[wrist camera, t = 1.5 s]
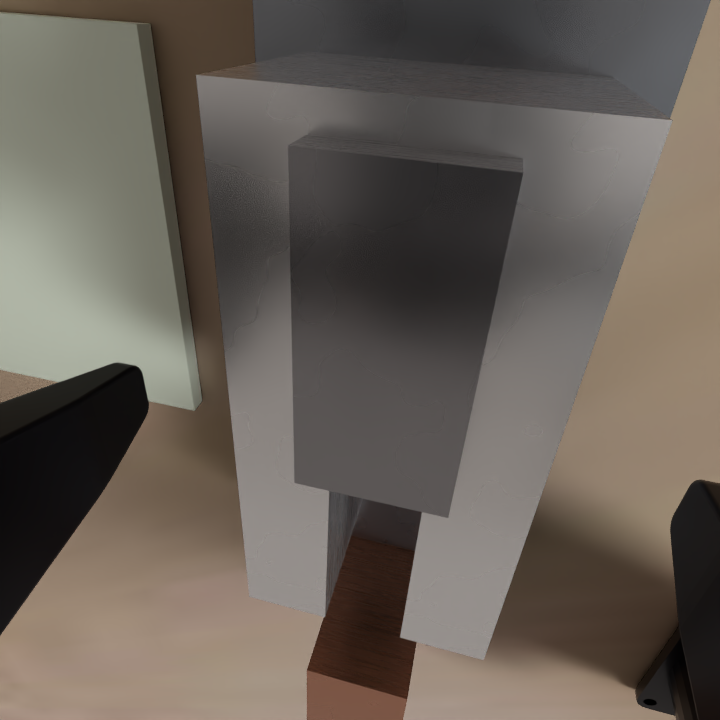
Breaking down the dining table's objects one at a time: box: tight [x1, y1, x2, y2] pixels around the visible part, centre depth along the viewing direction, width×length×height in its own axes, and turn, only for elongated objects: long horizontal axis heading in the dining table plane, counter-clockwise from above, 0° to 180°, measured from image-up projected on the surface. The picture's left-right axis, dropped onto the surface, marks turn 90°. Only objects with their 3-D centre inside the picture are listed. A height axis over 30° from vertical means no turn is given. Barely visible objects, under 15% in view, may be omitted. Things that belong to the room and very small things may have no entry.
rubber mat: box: [0, 12, 202, 411], centre depth 17 cm, size 12×10×1 cm
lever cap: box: [196, 52, 673, 660], centre depth 10 cm, size 10×5×5 cm, turn 177°
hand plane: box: [253, 0, 711, 720], centre depth 12 cm, size 22×7×8 cm, turn 177°
